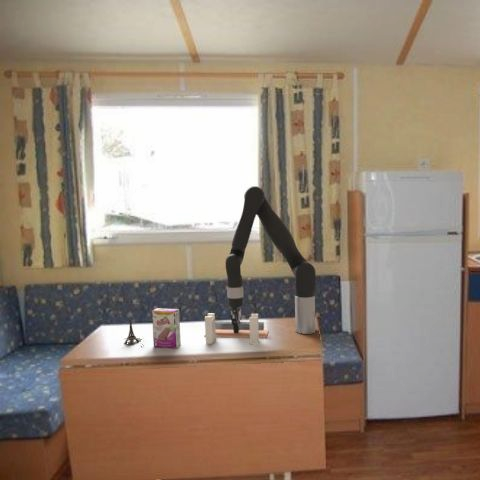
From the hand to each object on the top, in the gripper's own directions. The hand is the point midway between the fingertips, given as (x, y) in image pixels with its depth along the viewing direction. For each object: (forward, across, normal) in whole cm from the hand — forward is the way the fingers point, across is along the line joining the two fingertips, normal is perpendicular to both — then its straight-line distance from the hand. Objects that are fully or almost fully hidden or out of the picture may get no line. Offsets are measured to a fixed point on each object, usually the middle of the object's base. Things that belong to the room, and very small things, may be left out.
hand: (236, 331), depth 193 cm
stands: (+1, -10, 0) cm, 11 cm away
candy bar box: (+1, -18, +28) cm, 33 cm away
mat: (+1, 0, 0) cm, 1 cm away
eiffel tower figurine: (+2, -15, +45) cm, 48 cm away
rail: (-1, 0, 0) cm, 1 cm away
